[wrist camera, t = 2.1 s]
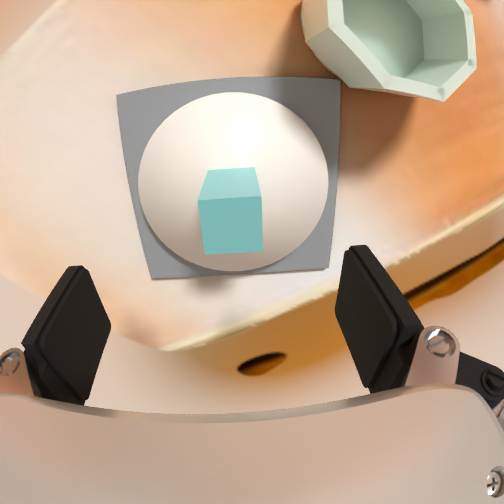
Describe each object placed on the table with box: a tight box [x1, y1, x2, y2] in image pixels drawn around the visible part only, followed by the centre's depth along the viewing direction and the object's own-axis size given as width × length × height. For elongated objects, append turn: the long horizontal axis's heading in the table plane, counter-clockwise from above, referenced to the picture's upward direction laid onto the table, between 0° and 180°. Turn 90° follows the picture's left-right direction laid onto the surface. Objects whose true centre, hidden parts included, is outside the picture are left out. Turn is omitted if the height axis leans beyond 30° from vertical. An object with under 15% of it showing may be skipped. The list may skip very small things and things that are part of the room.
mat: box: [116, 77, 341, 278], centre depth 20 cm, size 15×15×1 cm
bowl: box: [300, 0, 477, 102], centre depth 11 cm, size 10×10×6 cm
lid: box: [138, 92, 328, 271], centre depth 17 cm, size 13×13×6 cm
